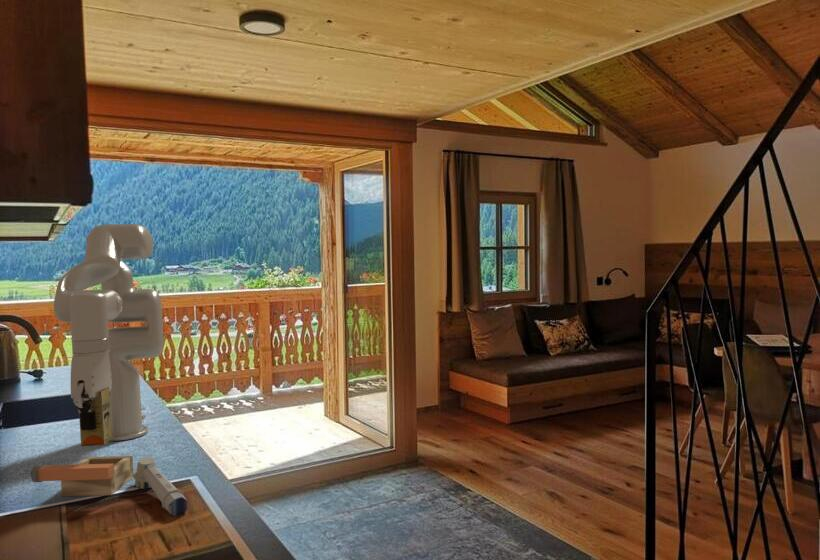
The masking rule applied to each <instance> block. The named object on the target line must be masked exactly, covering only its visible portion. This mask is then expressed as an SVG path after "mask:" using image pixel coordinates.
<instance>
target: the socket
mask: <svg viewBox="0 0 820 560" xmlns="http://www.w3.org/2000/svg"><path fill="white" fill-rule="evenodd" d="M80 464H114V476H112V477H111V478H110V479H97V480H63V481H60V486H61V497H86V496H112V495H114V494H115V493H116V492H117V491H119V490H120V489H121V488H122V487H123V486H124V485H125V484H126V482H127V483H128V482H129V481H130V480H131V479H132V477H133V474H134V472H135V470H134V457H133V455H120V456H119V455H118V456H117V455H115V456H90V457H89V456H86V457H85V458H83V459H82V460H80V461H79V462H77V463H76V464H74V465H80ZM133 478H134V477H133Z"/></svg>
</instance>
